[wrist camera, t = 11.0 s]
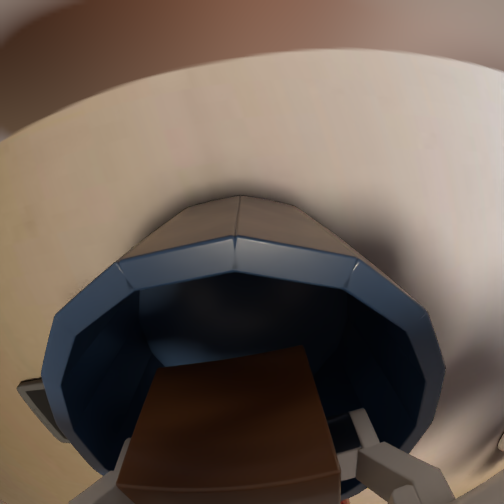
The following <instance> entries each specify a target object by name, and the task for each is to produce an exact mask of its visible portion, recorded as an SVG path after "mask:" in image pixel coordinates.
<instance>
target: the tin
mask: <svg viewBox="0 0 504 504" xmlns="http://www.w3.org/2000/svg"><path fill="white" fill-rule="evenodd" d="M298 345H303V346H304V349H305V352H306V355H307V358H308V361H309V365H310V368H311V371H312V374H313V378H314V381H315V384H316V387H317V391H318V394H319V397H320V400H321V404H322V407H323V410H324V414H325V417H326V418H327V417H330V416H334V415H338V414H341V413H345V412H349V411H353V410H356V409H360V408H364V409H365V410H366V413H367V415H368V417H369V419H370V421H371V424H372V426H373V428H374V430H375V433H376V435H377V437H378V439H379V442H380V443H381V442H384V441H385V442H386V443H388V444H390V445H392V446H394V447H396V448H398V449H400V450H402V451H404V452H406V453H408V454H409V453H410V451H411V450H412V449H413V448H414V446H415V445H416V444H417V442H418V441H419V440H420V438H421V437H422V436H423V434H424V433H425V432H426V430H427V429H428V428H429V426H430V425H431V423H432V421H433V419H434V415H435V412H436V408H437V405H438V401H439V397H440V393H441V389H442V385H443V380H444V376H445V369H446V368H445V364H444V360H443V357H442V354H441V350H440V347H439V344H438V341H437V338H436V335H435V332H434V329H433V326H432V323H431V320H430V317H429V314H428V312H427V311H426V310H425V308H424V307H423V306H422V305H421V304H419V303H418V302H417V301H416V300H415V299H414V298H413V297H411V296H410V295H409V294H408V293H407V292H406V291H404V290H403V289H402V288H401V287H400V286H399V285H397V284H396V283H395V282H394V281H393V280H391V279H390V278H389V277H388V276H387V275H385V274H384V273H383V272H382V271H381V270H379V269H378V268H377V267H376V266H374V265H373V264H372V263H371V262H370V261H368V260H367V259H366V258H365V257H363V256H362V255H361V254H360V253H358V252H357V251H356V250H355V249H353V248H352V247H351V246H349V245H348V244H347V243H346V242H344V241H343V240H342V239H340V238H339V237H338V236H337V235H335V234H334V233H333V232H331V231H330V230H328V229H327V228H326V227H324V226H323V225H321V224H320V223H319V222H317V221H316V220H314V219H313V218H311V217H310V216H309V215H307V214H306V213H304V212H303V211H301V210H300V209H298V208H297V207H295V206H293V205H289V204H284V203H279V202H275V201H272V200H268V199H261V198H253V197H248V196H235V197H230V198H225V199H218V200H213V201H210V202H206V203H203V204H199V205H195V206H191V207H188V208H186V209H184V210H183V211H182V212H180V213H179V214H177V215H176V216H175V217H173V218H172V219H171V220H169V221H168V222H166V223H165V224H164V225H162V226H161V227H160V228H158V229H157V230H156V231H154V232H153V233H152V234H150V235H149V236H148V237H146V238H145V239H144V240H142V241H141V242H140V243H139V244H137V245H136V246H135V247H133V248H132V249H131V250H130V251H128V252H127V253H126V254H124V255H123V256H122V257H121V258H119V259H118V260H117V261H116V262H114V263H113V264H112V265H111V266H110V267H108V268H107V269H106V270H105V271H104V272H102V273H101V274H100V275H99V276H98V277H97V278H95V279H94V280H93V281H92V282H91V283H90V284H89V285H87V286H86V287H85V288H84V289H83V290H82V291H81V292H79V293H78V294H77V295H76V296H75V297H74V298H73V299H72V300H70V301H69V302H68V303H67V304H66V305H65V306H64V307H63V308H62V309H61V310H59V311H58V312H57V313H56V315H55V316H54V320H53V323H52V327H51V331H50V335H49V339H48V343H47V347H46V351H45V356H44V361H43V365H42V370H41V377H42V381H43V384H44V388H45V391H46V394H47V398H48V401H49V404H50V407H51V410H52V413H53V416H54V419H55V422H56V424H57V426H58V427H59V429H60V430H61V431H62V433H63V434H64V435H65V437H66V438H67V439H68V440H69V442H70V443H71V444H72V445H73V446H74V448H75V449H76V450H77V451H78V452H79V454H80V455H81V456H82V457H83V458H84V459H85V460H86V462H87V463H88V464H89V465H90V466H91V467H92V468H93V469H94V470H96V471H97V472H98V473H100V474H101V475H103V476H104V475H105V474H107V473H108V472H109V471H114V469H115V466H116V463H117V461H118V458H119V455H120V452H121V450H122V447H123V444H124V442H125V440H126V439H127V438H131V437H132V434H133V432H134V429H135V426H136V423H137V421H138V418H139V415H140V412H141V410H142V407H143V404H144V402H145V399H146V396H147V394H148V391H149V388H150V386H151V383H152V381H153V378H154V375H155V373H156V370H157V368H159V367H169V366H178V365H186V364H194V363H202V362H209V361H216V360H223V359H229V358H235V357H241V356H247V355H253V354H258V353H263V352H269V351H274V350H279V349H284V348H289V347H293V346H298ZM366 488H368V487H366V486H365V485H364V484H362V483H361V482H360V481H358V480H357V479H356V477H355V478H351V479H348V480H343V481H341V499H340V501H343V500H345V499H348V498H350V497H353V496H354V495H357V494H358V493H360V492H361V491H363V490H364V489H366Z"/></svg>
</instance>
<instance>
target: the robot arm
mask: <svg viewBox="0 0 504 504" xmlns="http://www.w3.org/2000/svg"><path fill="white" fill-rule="evenodd" d="M326 420H327V424H328V427H329V430H330V434H331V437H332V440H333V444H334V447H335V451H336V454H337V458H338V461H339V464H340V468H341V481H343V480H348V479H351V478H355V477H356V479H357V480H358V481H360V482H361V483H362V484H364V485H365V486H366V487H368V488H369V489H370V490H372V491H373V492H374V493H376V494H377V495H379V496H380V497H381V498H383V499H384V500H386V501H387V502H388V504H504V469H503V470H501V471H500V472H499V473H497V474H496V475H494V476H493V477H491V478H490V479H488V480H487V481H485V482H484V483H482V484H480V485H479V486H477V487H476V488H474V489H472V490H471V491H469V492H467V493H465V494H464V495H462V496H460V497H458V498H456V499H455V497H454V495H453V493H452V491H451V489H450V487H449V485H448V483H447V481H446V480H445V478H444V476H443V474H442V472H441V470H440V469H439V468H436V467H434V466H432V465H430V464H428V463H426V462H424V461H422V460H420V459H418V458H416V457H414V456H411V455H410V454H408V453H406V452H404V451H402V450H400V449H398V448H396V447H394V446H392V445H390V444H388V443H386V442H385V441H384V442H381V443H380V442H379V439H378V437H377V435H376V433H375V430H374V428H373V426H372V424H371V421H370V419H369V417H368V415H367V413H366V410H365V409H364V408H360V409H356V410H353V411H349V412H345V413H341V414H338V415H334V416H330V417H327V418H326ZM130 440H131V438H127V439H126V440H125V442H124V444H123V447H122V450H121V452H120V455H119V458H118V461H117V463H116V466H115V469H114V471H109V472H108V473H107V474H105V475H104V476H103V477H102V478H100V479H99V480H98V481H96V482H95V483H94V484H92V485H91V486H90V487H88V488H87V489H86V490H84V491H83V492H82V493H80V494H79V495H78V496H76V497H75V498H74V499H72V500H71V501H69V504H134V503H133V502H132V501H131V500H130V499H129V498H128V497H127V496H126V495H125V494H124V493H123V492H122V491H121V490H120V489H119V488H118V487H117V486H116V481H117V478H118V475H119V472H120V469H121V466H122V463H123V460H124V457H125V454H126V451H127V449H128V446H129V443H130ZM498 449H500V450H502V451H503V452H504V434H503V436H502V438H501V439H500V442H499V444H498ZM0 504H7V503H5V502H4V501H2V500H0Z"/></svg>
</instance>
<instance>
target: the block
mask: <svg viewBox="0 0 504 504" xmlns="http://www.w3.org/2000/svg"><path fill="white" fill-rule="evenodd" d="M116 486H117V487H118V488H119V489H120V490H121V491H122V492H123V493H124V494H125V495H126V496H127V497H128V498H129V499H130V500H131V501H132V502H133V503H134V504H340V499H341V468H340V464H339V461H338V458H337V454H336V451H335V447H334V444H333V440H332V437H331V434H330V430H329V427H328V424H327V420H326V417H325V414H324V410H323V407H322V404H321V400H320V397H319V394H318V391H317V387H316V384H315V381H314V378H313V374H312V371H311V368H310V365H309V361H308V358H307V355H306V352H305V349H304V346H303V345H298V346H293V347H289V348H284V349H279V350H274V351H269V352H263V353H258V354H253V355H247V356H241V357H235V358H229V359H223V360H216V361H209V362H202V363H194V364H186V365H178V366H169V367H159V368H157V370H156V373H155V375H154V378H153V381H152V383H151V386H150V388H149V391H148V394H147V396H146V399H145V402H144V404H143V407H142V410H141V412H140V415H139V418H138V421H137V423H136V426H135V429H134V432H133V434H132V437H131V440H130V443H129V446H128V449H127V451H126V454H125V457H124V460H123V463H122V466H121V469H120V472H119V475H118V478H117V481H116Z"/></svg>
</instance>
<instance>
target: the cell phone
mask: <svg viewBox="0 0 504 504" xmlns="http://www.w3.org/2000/svg"><path fill="white" fill-rule="evenodd" d="M17 391H18V392H19V394H20V396H21V397H22V398H23V400H24V401H25V402H26V404H27V405H28V406H29V407H30V409H31V410H32V411H33V412H34V414H35V415H36V416H37V417H38V418H39V420H40V421H41V422H42V423H43V424H44V425H45V427H46V428H47V429H48V430H49V431H50V432H51V433H52V434H53V436H54V437H55V438H57V439H58V440H59V441H60V442H63V443H70V442H69V440H68V439H67V438H66V437H65V435H64V434H63V433H62V431H61V430H60V429H59V427H58V426H57V424H56V422H55V419H54V416H53V413H52V410H51V407H50V404H49V401H48V398H47V394H46V391H45V388H44V384H43V381H42V379H40V380H34V381H28V382H23V383H20V384H19V385H18V387H17Z"/></svg>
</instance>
